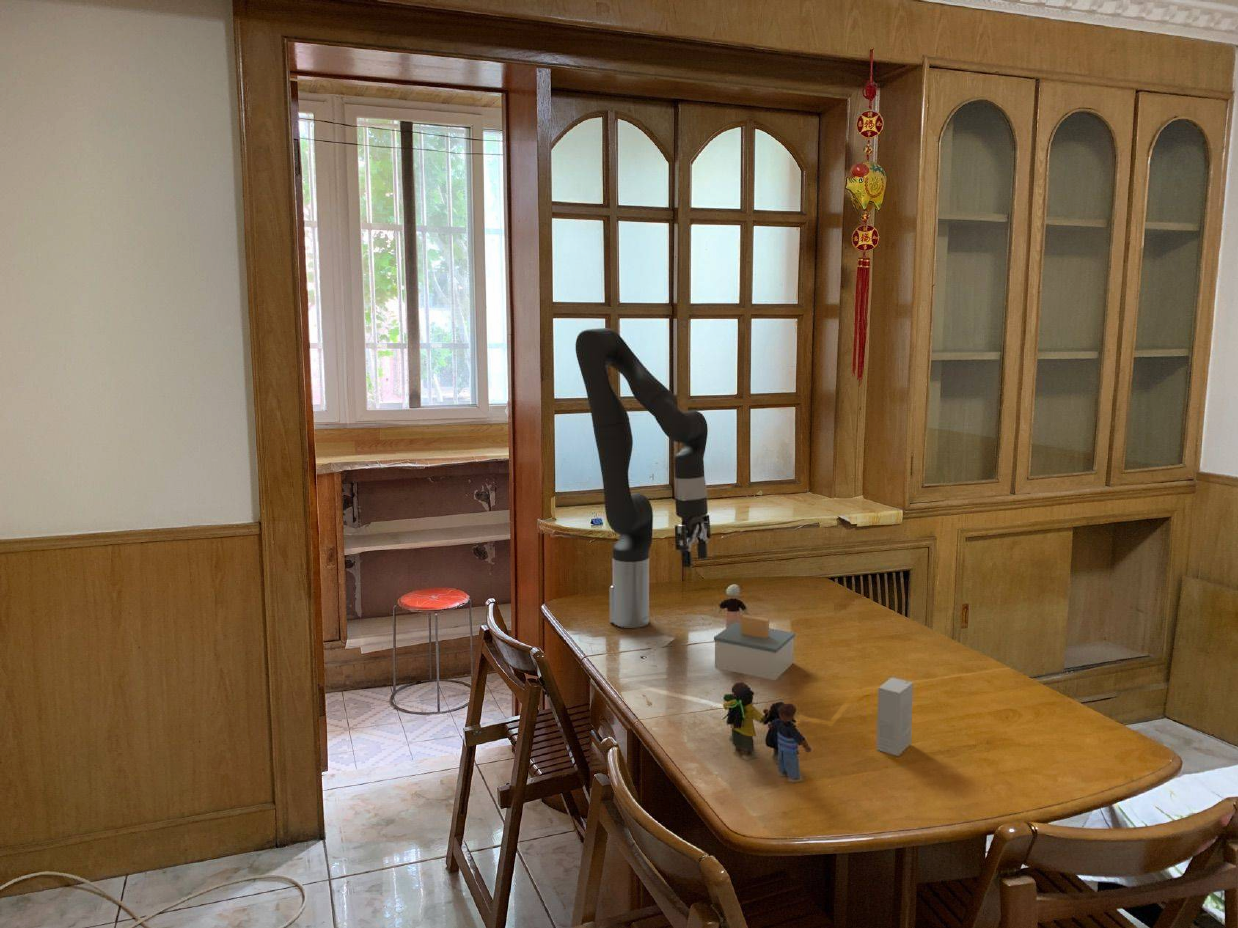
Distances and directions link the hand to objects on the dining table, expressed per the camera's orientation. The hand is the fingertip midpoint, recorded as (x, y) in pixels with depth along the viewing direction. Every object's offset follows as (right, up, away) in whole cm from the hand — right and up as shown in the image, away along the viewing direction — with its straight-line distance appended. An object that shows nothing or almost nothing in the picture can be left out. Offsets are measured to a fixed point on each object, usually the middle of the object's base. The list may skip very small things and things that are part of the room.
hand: (694, 562), depth 214 cm
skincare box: (+32, -28, -52) cm, 67 cm away
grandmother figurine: (+10, -19, +6) cm, 22 cm away
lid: (+12, -16, -16) cm, 26 cm away
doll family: (+7, -29, -56) cm, 63 cm away
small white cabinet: (+12, -22, -15) cm, 29 cm away
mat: (-3, -21, -7) cm, 22 cm away
